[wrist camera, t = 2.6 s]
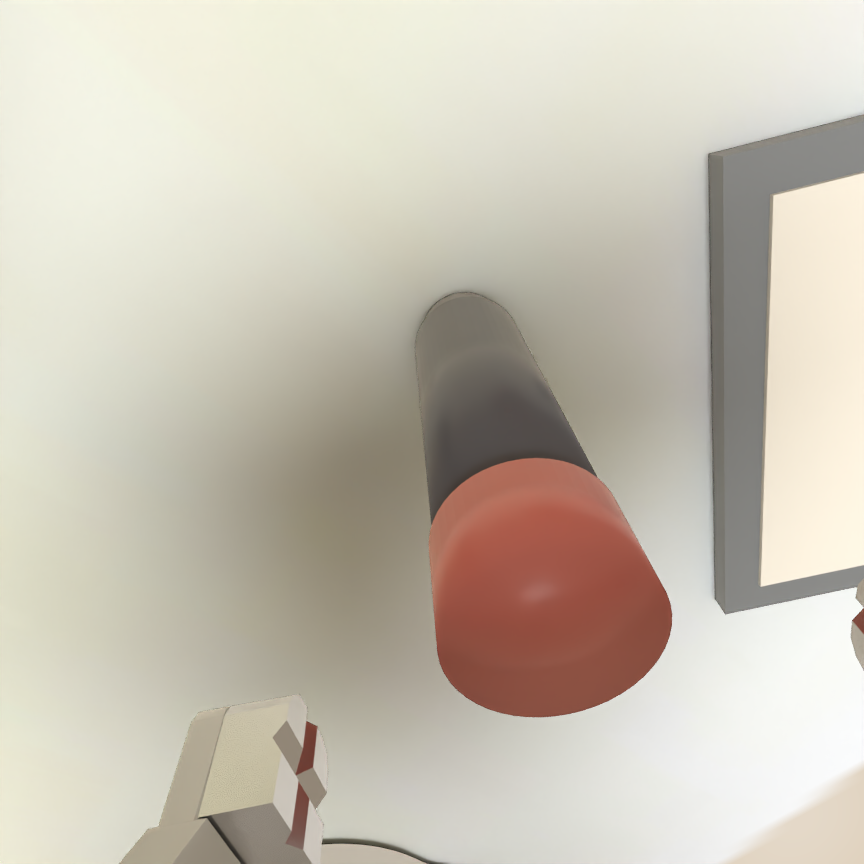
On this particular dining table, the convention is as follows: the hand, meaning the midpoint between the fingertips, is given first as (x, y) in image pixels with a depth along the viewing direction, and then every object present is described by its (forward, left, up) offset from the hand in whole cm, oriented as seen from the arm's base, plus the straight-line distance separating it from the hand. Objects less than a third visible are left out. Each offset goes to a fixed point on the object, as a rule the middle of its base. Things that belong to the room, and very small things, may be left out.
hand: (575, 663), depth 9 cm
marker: (0, 0, -15) cm, 15 cm away
